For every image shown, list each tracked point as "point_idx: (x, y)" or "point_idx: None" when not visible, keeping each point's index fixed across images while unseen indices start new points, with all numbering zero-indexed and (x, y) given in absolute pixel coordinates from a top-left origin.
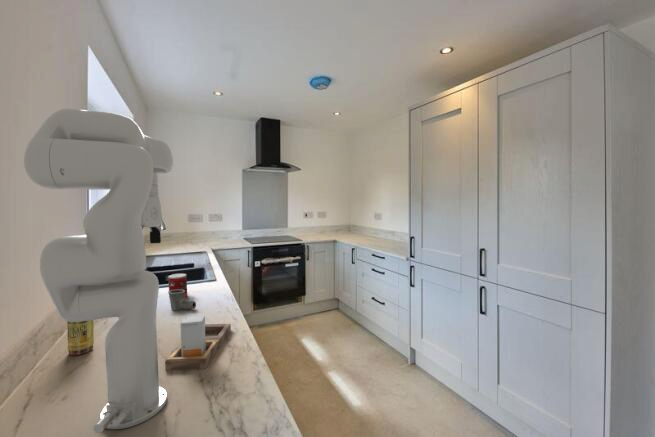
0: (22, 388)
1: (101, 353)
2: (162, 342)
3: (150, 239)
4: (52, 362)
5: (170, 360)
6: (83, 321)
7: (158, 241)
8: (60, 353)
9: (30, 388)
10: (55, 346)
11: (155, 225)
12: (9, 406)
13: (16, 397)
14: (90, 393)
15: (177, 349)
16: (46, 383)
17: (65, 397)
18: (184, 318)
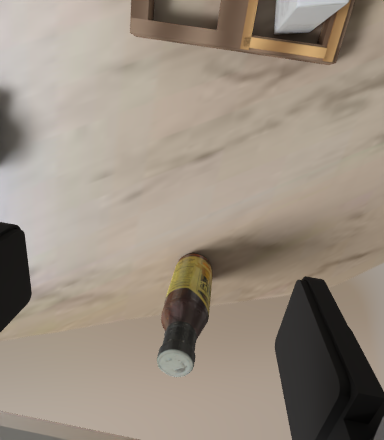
0: None
1: (211, 230)
2: (186, 123)
3: (8, 319)
4: (225, 289)
5: (336, 49)
6: (203, 295)
7: (14, 240)
8: None
9: None
10: None
11: (22, 434)
12: (347, 276)
13: None
14: (360, 182)
15: (286, 48)
16: (296, 264)
17: (355, 215)
18: (305, 2)
